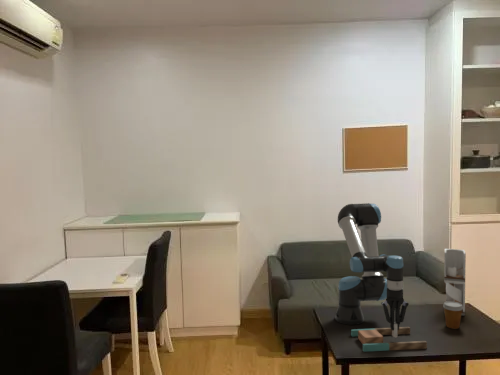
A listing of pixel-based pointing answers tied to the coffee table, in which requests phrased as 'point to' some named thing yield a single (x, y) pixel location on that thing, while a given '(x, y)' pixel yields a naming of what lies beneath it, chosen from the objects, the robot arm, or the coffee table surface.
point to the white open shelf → (455, 276)
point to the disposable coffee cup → (452, 314)
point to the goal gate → (373, 345)
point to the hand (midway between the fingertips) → (394, 336)
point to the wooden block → (370, 336)
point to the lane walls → (402, 344)
